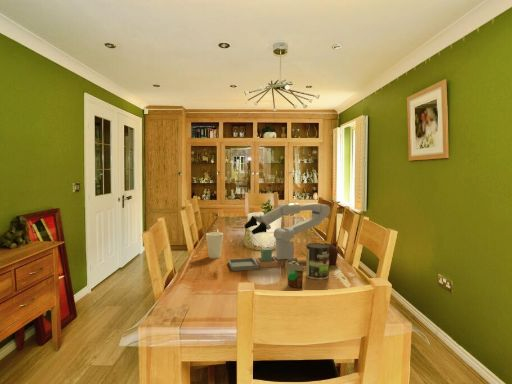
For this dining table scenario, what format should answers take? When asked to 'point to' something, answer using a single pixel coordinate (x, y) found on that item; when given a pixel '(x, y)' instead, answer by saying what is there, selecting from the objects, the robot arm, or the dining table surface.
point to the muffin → (332, 254)
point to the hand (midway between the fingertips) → (248, 229)
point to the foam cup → (214, 244)
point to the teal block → (266, 255)
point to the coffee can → (317, 261)
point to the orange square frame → (267, 263)
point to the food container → (294, 273)
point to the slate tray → (243, 264)
